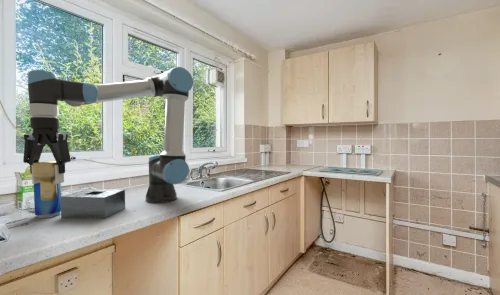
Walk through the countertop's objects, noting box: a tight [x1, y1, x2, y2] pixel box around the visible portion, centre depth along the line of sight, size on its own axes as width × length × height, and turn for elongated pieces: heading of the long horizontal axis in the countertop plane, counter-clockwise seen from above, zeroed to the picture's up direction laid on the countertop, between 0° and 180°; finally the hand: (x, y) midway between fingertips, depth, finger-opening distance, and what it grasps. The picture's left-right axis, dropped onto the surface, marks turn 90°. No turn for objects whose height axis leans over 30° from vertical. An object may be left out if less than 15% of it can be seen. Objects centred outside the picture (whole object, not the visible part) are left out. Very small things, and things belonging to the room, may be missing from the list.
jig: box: [60, 188, 126, 220], centre depth 101 cm, size 18×14×8 cm
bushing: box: [33, 160, 57, 201], centre depth 83 cm, size 8×8×13 cm
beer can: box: [33, 183, 62, 219], centre depth 97 cm, size 8×8×16 cm
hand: (48, 182), depth 83 cm, fingers closed on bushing, 8 cm apart
